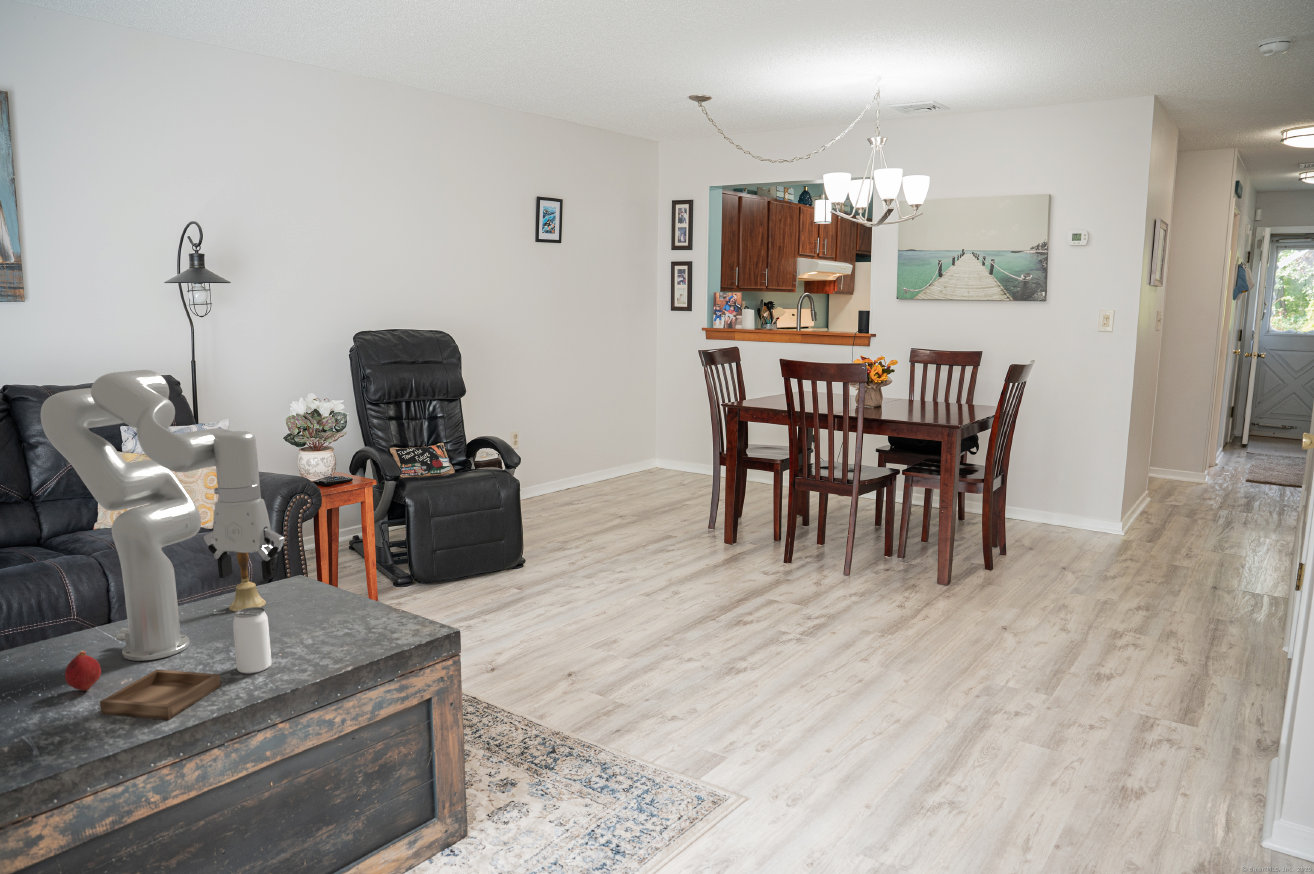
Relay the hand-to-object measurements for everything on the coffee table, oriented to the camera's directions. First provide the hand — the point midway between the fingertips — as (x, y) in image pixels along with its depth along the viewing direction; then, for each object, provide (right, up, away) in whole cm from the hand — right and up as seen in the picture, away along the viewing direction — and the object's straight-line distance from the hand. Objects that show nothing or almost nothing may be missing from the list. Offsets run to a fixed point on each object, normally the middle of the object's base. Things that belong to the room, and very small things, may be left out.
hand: (247, 576), depth 176 cm
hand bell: (-19, -14, +40) cm, 46 cm away
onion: (-28, -21, -7) cm, 36 cm away
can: (0, -19, +3) cm, 20 cm away
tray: (-11, -21, -11) cm, 26 cm away
